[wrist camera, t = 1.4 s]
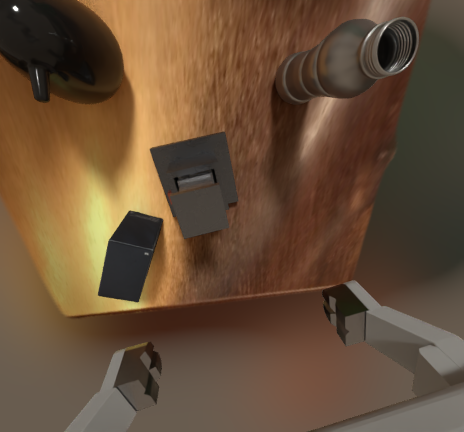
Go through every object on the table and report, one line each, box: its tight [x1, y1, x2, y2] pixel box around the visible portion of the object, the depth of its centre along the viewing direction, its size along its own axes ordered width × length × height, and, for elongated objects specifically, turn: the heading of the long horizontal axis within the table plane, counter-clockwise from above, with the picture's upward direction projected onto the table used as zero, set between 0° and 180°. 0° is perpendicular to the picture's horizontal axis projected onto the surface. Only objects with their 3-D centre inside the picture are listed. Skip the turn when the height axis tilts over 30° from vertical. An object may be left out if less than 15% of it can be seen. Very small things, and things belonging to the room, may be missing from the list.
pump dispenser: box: [0, 0, 124, 104], centre depth 23 cm, size 10×10×15 cm
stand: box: [150, 132, 238, 217], centre depth 34 cm, size 12×12×10 cm
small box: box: [98, 211, 163, 302], centre depth 37 cm, size 11×6×10 cm, turn 159°
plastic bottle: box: [275, 17, 419, 105], centre depth 26 cm, size 6×7×20 cm
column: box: [170, 169, 229, 239], centre depth 30 cm, size 5×5×15 cm
